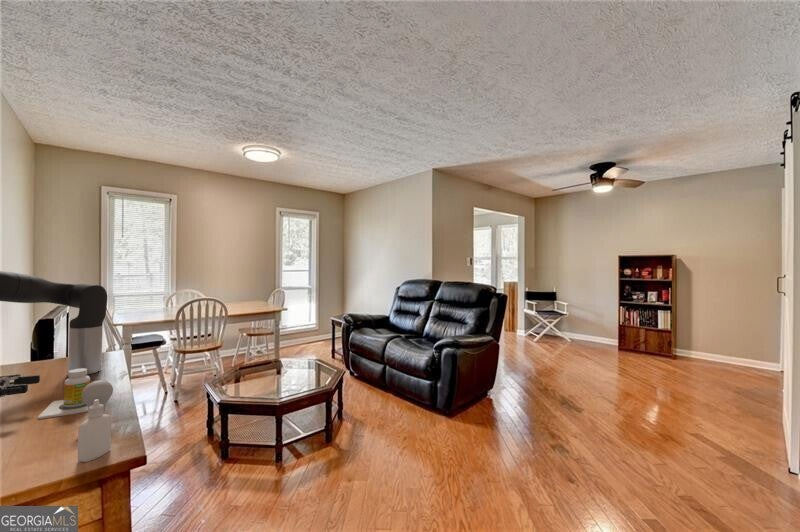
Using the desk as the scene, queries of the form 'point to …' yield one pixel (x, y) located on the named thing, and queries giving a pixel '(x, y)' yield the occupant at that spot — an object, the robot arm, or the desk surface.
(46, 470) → the desk surface
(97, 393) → the lightbulb
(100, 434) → the eye dropper bottle
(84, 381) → the supplement bottle
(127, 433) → the desk surface
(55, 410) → the plate
